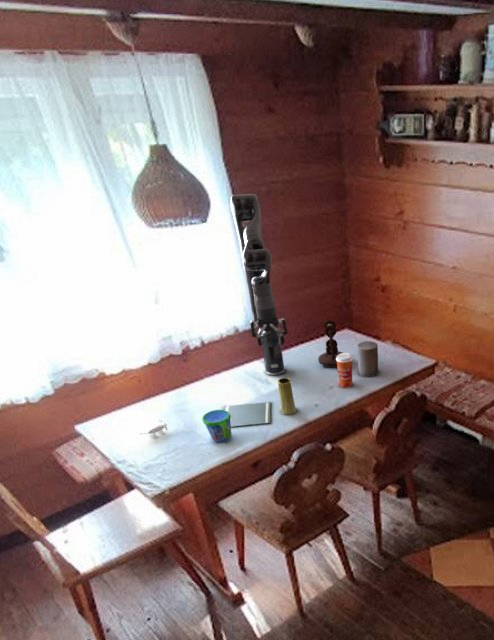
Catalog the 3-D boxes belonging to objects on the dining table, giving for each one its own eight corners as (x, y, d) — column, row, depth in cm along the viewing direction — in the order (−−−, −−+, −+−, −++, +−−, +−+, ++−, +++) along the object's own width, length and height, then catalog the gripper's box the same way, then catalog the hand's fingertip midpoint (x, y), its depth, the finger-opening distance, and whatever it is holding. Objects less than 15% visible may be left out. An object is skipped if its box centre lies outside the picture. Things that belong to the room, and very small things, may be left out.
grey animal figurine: (165, 427, 212) (161, 417, 209) (172, 431, 209) (169, 421, 206) (139, 439, 205) (135, 429, 202) (146, 444, 202) (142, 434, 199)
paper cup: (335, 387, 236) (332, 358, 227) (342, 380, 242) (340, 351, 233) (350, 389, 234) (348, 360, 225) (357, 382, 239) (355, 354, 230)
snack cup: (203, 433, 208) (196, 411, 201) (228, 426, 212) (222, 404, 205) (215, 451, 198) (208, 428, 191) (241, 443, 202) (235, 420, 195)
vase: (279, 412, 219) (273, 382, 210) (287, 406, 223) (282, 376, 214) (290, 415, 217) (285, 385, 208) (298, 409, 221) (294, 379, 212)
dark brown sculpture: (318, 357, 262) (314, 318, 249) (347, 355, 263) (344, 316, 250) (318, 369, 251) (314, 329, 238) (348, 367, 252) (345, 327, 239)
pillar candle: (382, 370, 248) (381, 340, 239) (371, 378, 242) (370, 348, 232) (365, 366, 253) (364, 336, 243) (354, 374, 246) (352, 343, 237)
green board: (224, 407, 224) (224, 406, 224) (270, 403, 226) (270, 402, 226) (221, 428, 211) (221, 427, 210) (270, 423, 213) (269, 422, 212)
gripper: (283, 300, 202) (289, 340, 213) (247, 303, 201) (254, 342, 212) (283, 307, 197) (289, 347, 208) (246, 310, 195) (254, 350, 206)
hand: (271, 345), depth 210 cm, fingers open, 8 cm apart
